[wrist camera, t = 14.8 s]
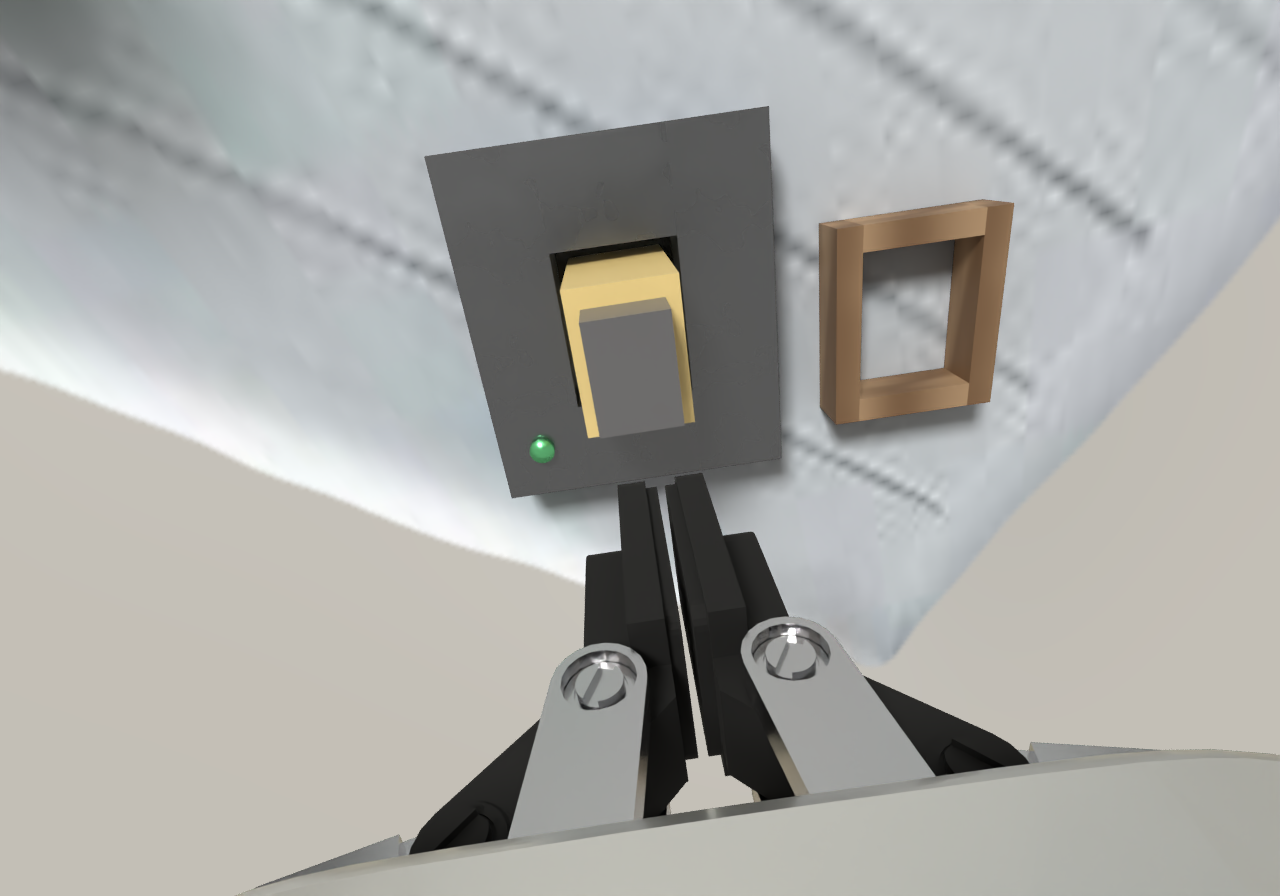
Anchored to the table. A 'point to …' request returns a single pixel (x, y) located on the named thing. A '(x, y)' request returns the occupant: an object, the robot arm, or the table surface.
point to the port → (605, 215)
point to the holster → (969, 320)
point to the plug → (628, 341)
